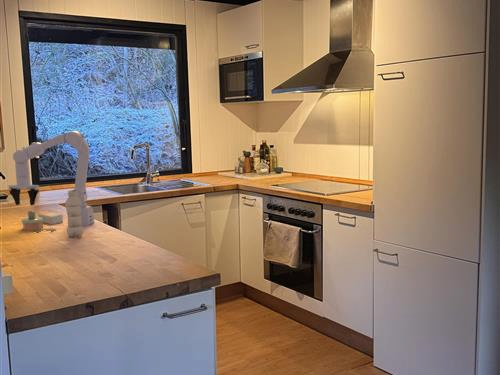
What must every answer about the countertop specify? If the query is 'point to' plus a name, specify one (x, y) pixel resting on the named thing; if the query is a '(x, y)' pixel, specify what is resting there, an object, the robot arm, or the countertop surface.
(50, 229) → the trivet
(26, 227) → the bowl
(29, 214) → the lid
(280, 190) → the countertop surface
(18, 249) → the countertop surface
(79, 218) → the plastic bottle
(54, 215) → the skincare box
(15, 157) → the robot arm
